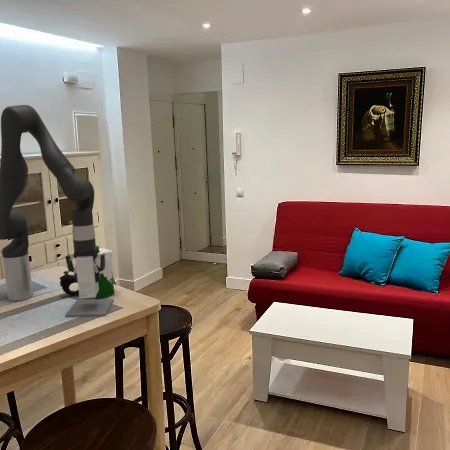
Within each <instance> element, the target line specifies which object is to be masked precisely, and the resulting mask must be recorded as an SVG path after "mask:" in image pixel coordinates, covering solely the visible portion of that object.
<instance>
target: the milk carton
mask: <svg viewBox="0 0 450 450" xmlns="http://www.w3.org/2000/svg"><path fill="white" fill-rule="evenodd" d="M96 251H97V253H98V254H103V253H105V254H106V258H105V269H104V270H103V271H100V280H99V282H98V286H99V291H98V292H97V294H96V297H95V298H94V299H106V297H110V296H113V295H115V286H114V274H113V273H114V272H113V262H112V261H113V250H110V249H108V248H104V247H99V245H96ZM96 262H97V264H98V266H99V267H100V260H99V258H98V257H97V258H96Z"/></svg>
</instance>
